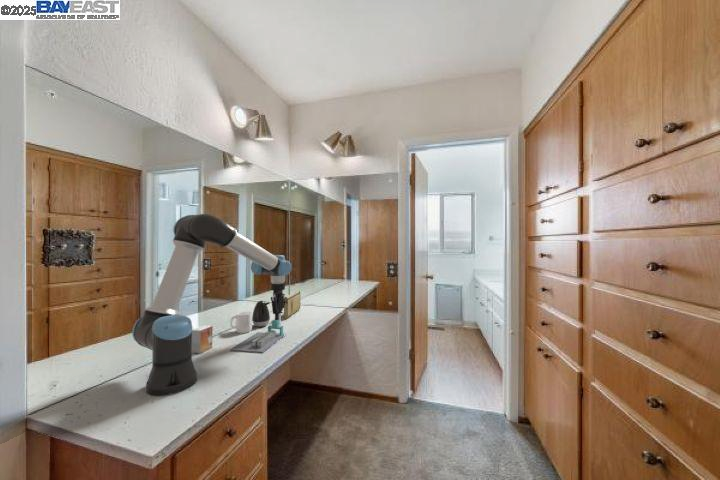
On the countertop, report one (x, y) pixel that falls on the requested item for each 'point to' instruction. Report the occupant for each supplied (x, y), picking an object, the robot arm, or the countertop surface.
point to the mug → (242, 322)
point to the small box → (201, 338)
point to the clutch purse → (291, 304)
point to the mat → (247, 347)
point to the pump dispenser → (261, 314)
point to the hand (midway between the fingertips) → (277, 325)
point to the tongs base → (266, 339)
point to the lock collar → (275, 326)
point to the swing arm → (254, 342)
